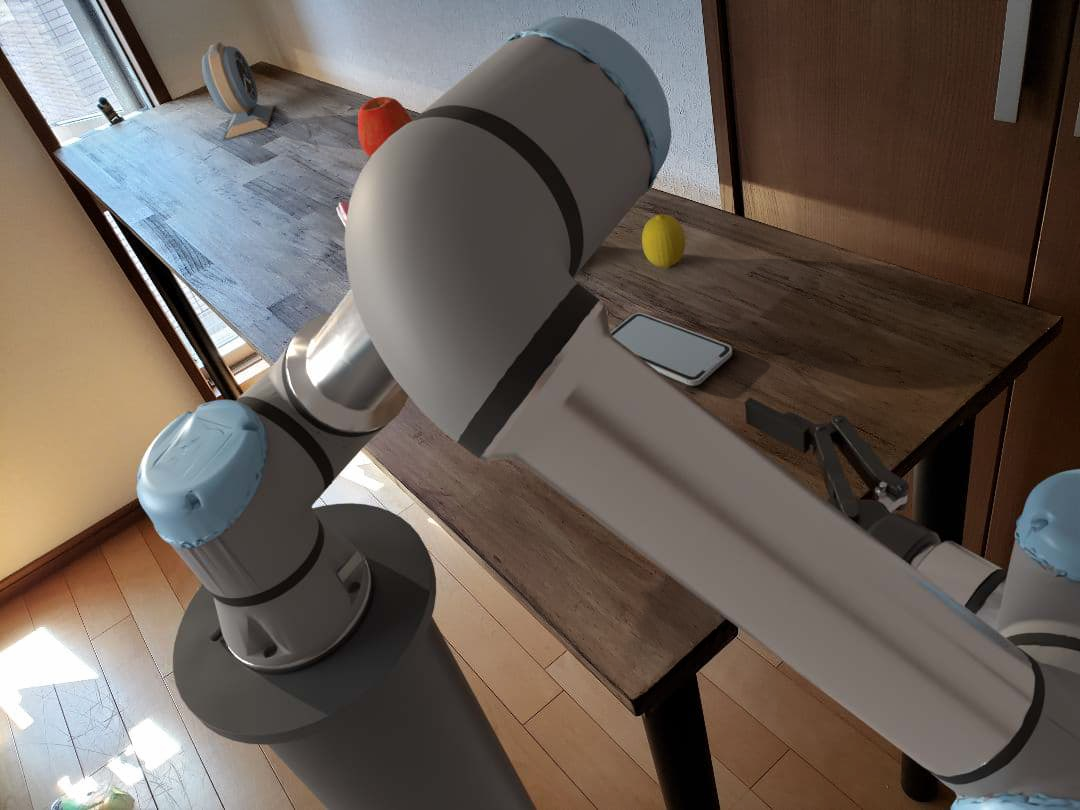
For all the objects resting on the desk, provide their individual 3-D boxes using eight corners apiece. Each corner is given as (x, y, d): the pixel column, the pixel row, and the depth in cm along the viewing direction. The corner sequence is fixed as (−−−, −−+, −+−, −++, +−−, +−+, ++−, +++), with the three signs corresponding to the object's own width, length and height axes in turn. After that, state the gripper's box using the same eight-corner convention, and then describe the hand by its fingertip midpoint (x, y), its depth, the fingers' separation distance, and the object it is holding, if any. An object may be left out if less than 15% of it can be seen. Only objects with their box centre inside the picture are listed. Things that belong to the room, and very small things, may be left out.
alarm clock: (266, 128, 187) (230, 49, 175) (225, 140, 187) (186, 62, 176) (273, 105, 198) (239, 29, 186) (234, 116, 198) (198, 41, 187)
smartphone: (637, 310, 105) (735, 347, 95) (638, 316, 105) (736, 353, 95) (597, 342, 102) (694, 384, 92) (598, 348, 102) (695, 390, 92)
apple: (432, 144, 160) (414, 90, 153) (387, 171, 155) (367, 116, 148) (400, 135, 166) (381, 83, 160) (356, 160, 162) (335, 108, 155)
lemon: (638, 273, 112) (629, 221, 107) (663, 252, 115) (655, 200, 109) (672, 283, 109) (664, 230, 104) (696, 260, 111) (690, 207, 106)
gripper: (809, 725, 59) (605, 564, 73) (1003, 512, 68) (788, 405, 82) (808, 669, 54) (589, 508, 68) (1017, 447, 63) (786, 346, 77)
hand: (697, 452), depth 75 cm, fingers open, 13 cm apart
